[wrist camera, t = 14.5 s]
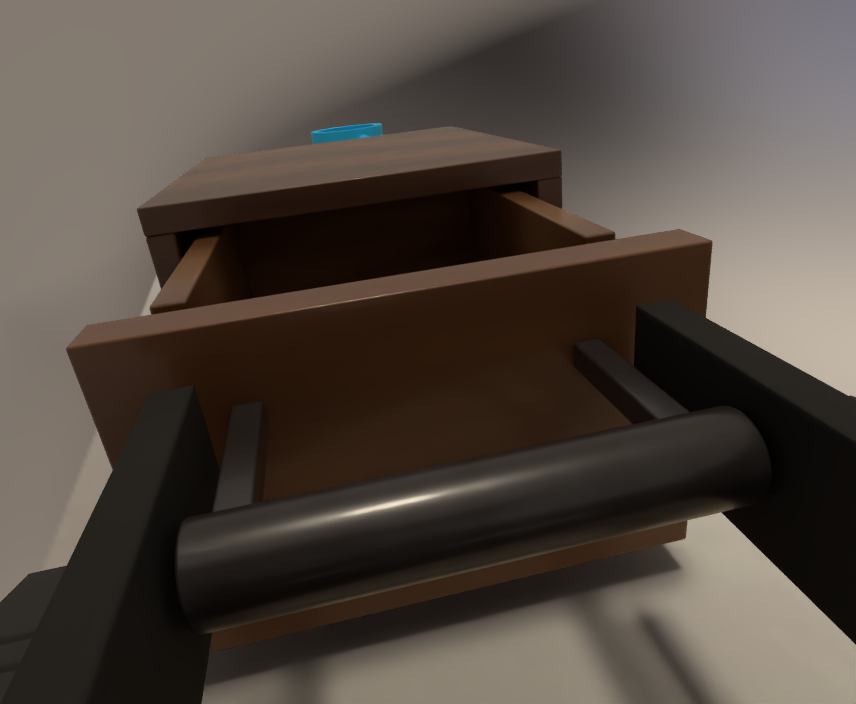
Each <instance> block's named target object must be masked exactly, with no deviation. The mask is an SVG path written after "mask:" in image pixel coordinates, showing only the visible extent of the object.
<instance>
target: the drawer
mask: <svg viewBox="0 0 856 704" xmlns="http://www.w3.org/2000/svg"><path fill="white" fill-rule="evenodd" d="M711 253H712V241H711V240H709V239H706V238H703V237H701V236H698V235H695V234H692V233H689V232H686V231H683V230H680V229H677V230H671V231H665V232H659V233H652V234H647V235H640V236H635V237H628V238H623V239H615V232H613V231H611V230H609V229H606V228H604V227H602V226H600V225H597V224H595V223H593V222H591V221H588V220H586V219H583V218H581V217H579V216H577V215H574V214H572V213H570V212H567V211H565V210H563V209H561V208H558V207H556V206H554V205H552V204H549V203H547V202H545V201H542V200H540V199H538V198H536V197H533V196H531V195H529V194H526V193H524V192H522V191H519V190H517V189H515V188H513V187H510V186H508V185H501V186H495V187H488V188H481V189H474V190H467V191H460V192H453V193H446V194H439V195H432V196H426V197H419V198H412V199H405V200H398V201H391V202H384V203H377V204H370V205H363V206H356V207H350V208H343V209H336V210H329V211H322V212H315V213H308V214H301V215H294V216H287V217H281V218H274V219H267V220H260V221H253V222H246V223H239V224H232V225H225V226H218V227H212V228H205V229H202V230H201V232H200V233H199V235H198V236H197V238H196V239H195V241H194V242H193V244H192V245H191V246H190V248H189V249H188V251H187V252H186V254H185V255H184V257H183V258H182V260H181V261H180V263H179V264H178V266H177V267H176V269H175V270H174V272H173V273H172V275H171V276H170V278H169V279H168V280H167V282H166V283H165V285H164V286H163V288H162V289H161V291H160V292H159V294H158V295H157V297H156V298H155V300H154V301H153V303H152V304H151V306H150V312H151V315H147V316H141V317H135V318H129V319H123V320H117V321H110V322H105V323H98V324H92V325H87V326H85V328H84V329H83V330H82V331H81V332H80V333H79V334H78V335H77V336H76V338H75V339H74V340H73V341H72V342H71V343H70V344H69V345H68V347H67V348H66V350H67V353H68V356H69V358H70V361H71V363H72V366H73V369H74V371H75V374H76V376H77V379H78V382H79V384H80V387H81V389H82V392H83V394H84V397H85V400H86V402H87V405H88V407H89V409H90V412H91V415H92V417H93V420H94V423H95V425H96V428H97V430H98V433H99V436H100V438H101V441H102V443H103V446H104V448H105V451H106V454H107V456H108V459H109V461H110V464H111V466H112V469H114V467H115V465H116V463H117V461H118V459H119V456H120V454H121V452H122V450H123V448H124V446H125V444H126V442H127V440H128V438H129V436H130V434H131V432H132V429H133V427H134V425H135V423H136V421H137V419H138V417H139V415H140V413H141V411H142V409H143V407H144V405H145V402H146V400H147V398H148V396H149V394H150V393H154V392H159V391H165V390H170V389H176V388H181V387H187V386H192V385H194V386H195V389H196V392H197V396H198V399H199V402H200V406H201V409H202V412H203V416H204V419H205V422H206V426H207V429H208V432H209V436H210V439H211V442H212V446H213V449H214V452H215V456H216V459H217V462H218V466H219V469H220V473H219V478H218V483H217V488H216V493H215V498H214V503H213V508H212V512H210V513H205V514H200V515H195V516H191V517H187V518H186V519H184V520H183V521H182V523H181V524H180V527H179V530H178V533H177V538H176V545H175V579H176V587H177V594H178V599H179V603H180V607H181V611H182V614H183V617H184V619H185V621H186V624H187V626H188V627H189V629H190V630H191V631H192V632H193V633H194V634H197V635H203V634H207V633H211V632H212V637H211V644H210V650H209V653H212V652H216V651H220V650H224V649H228V648H233V647H237V646H241V645H245V644H249V643H253V642H257V641H262V640H266V639H270V638H274V637H278V636H282V635H287V634H291V633H295V632H299V631H303V630H307V629H312V628H316V627H320V626H324V625H328V624H332V623H337V622H341V621H345V620H349V619H353V618H357V617H361V616H366V615H370V614H374V613H378V612H382V611H386V610H391V609H395V608H399V607H403V606H407V605H411V604H416V603H420V602H424V601H428V600H432V599H436V598H441V597H445V596H449V595H453V594H457V593H461V592H465V591H470V590H474V589H478V588H482V587H486V586H490V585H495V584H499V583H503V582H507V581H511V580H515V579H520V578H524V577H528V576H532V575H536V574H540V573H545V572H549V571H553V570H557V569H561V568H565V567H569V566H574V565H578V564H582V563H586V562H590V561H594V560H599V559H603V558H607V557H611V556H615V555H619V554H624V553H628V552H632V551H636V550H640V549H644V548H649V547H653V546H657V545H661V544H665V543H669V542H673V541H678V540H682V539H685V538H686V530H687V520H691V519H695V518H699V517H703V516H707V515H712V514H716V513H720V512H724V511H729V510H733V509H737V508H741V507H746V506H750V505H754V504H757V503H759V502H760V501H762V500H763V499H764V498H765V497H766V495H767V494H768V492H769V489H770V486H771V480H772V468H771V461H770V456H769V453H768V449H767V447H766V444H765V442H764V440H763V438H762V436H761V434H760V432H759V430H758V429H757V427H756V426H755V425H754V423H753V422H752V421H751V420H750V419H749V418H748V417H747V416H746V415H745V414H744V413H742V412H741V411H739V410H738V409H736V408H733V407H730V406H717V407H713V408H708V409H703V410H698V411H693V412H689V411H688V410H687V409H686V408H684V407H683V406H682V405H681V404H679V403H678V402H677V401H676V400H674V399H673V398H672V397H671V396H670V395H668V394H667V393H666V392H665V391H663V390H662V389H661V388H660V387H658V386H657V385H656V384H655V383H653V382H652V381H651V380H650V379H649V378H647V377H646V376H645V375H644V374H642V373H641V372H640V371H639V370H637V369H636V368H635V367H634V347H635V321H636V305H642V304H647V303H653V302H659V301H664V300H670V299H672V300H674V301H676V302H677V303H679V304H681V305H683V306H685V307H687V308H688V309H690V310H692V311H694V312H696V313H698V314H699V315H701V316H703V317H705V318H706V309H707V298H708V287H709V275H710V264H711Z"/></svg>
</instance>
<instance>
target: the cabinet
mask: <svg viewBox="0 0 856 704" xmlns="http://www.w3.org/2000/svg"><path fill="white" fill-rule="evenodd" d="M561 175H562V162H561V150H558V149H553V148H549V147H545V146H539V145H535V144H531V143H526V142H521V141H516V140H512V139H508V138H503V137H498V136H494V135H489V134H484V133H480V132H475V131H471V130H466V129H461V128H456V127H452V126H450V127H442V128H434V129H427V130H420V131H411V132H403V133H397V134H388V135H380V136H372V137H365V138H357V139H349V140H341V141H334V142H326V143H318V144H310V145H303V146H295V147H288V148H279V149H272V150H264V151H256V152H248V153H241V154H233V155H225V156H218V157H210V158H205V159H204V160H203V161H201V162H200V163H198V164H197V165H196V166H194V167H193V168H192V169H190V170H189V171H188V172H186V173H185V174H183V175H182V176H181V177H180V178H178V179H177V180H175V181H174V182H173V183H171V184H170V185H169V186H167V187H166V188H165V189H163V190H162V191H160V192H159V193H158V194H156V195H155V196H154V197H152V198H151V199H150V200H148V201H147V202H146V203H144V204H143V205H141V206H140V207H139V208H137V212H138V216H139V219H140V222H141V225H142V228H143V232H144V235H145V236H146V237H147V238H146V241H147V244H148V247H149V250H150V254H151V257H152V260H153V264H154V267H155V270H156V274H157V277H158V280H159V284H160V287H161V289H162V288H163V286H164V285H165V283H166V282H167V280H168V279H169V278H170V276H171V275H172V273H173V272H174V270H175V269H176V267H177V266H178V264H179V263H180V261H181V260H182V258H183V257H184V255H185V254H186V252H187V251H188V249H189V248H190V246H191V245H192V244H193V242H194V241H195V239H196V238H197V236H198V235H199V233H200V232H201V230H202V229H205V228H212V227H218V226H225V225H232V224H239V223H246V222H253V221H260V220H267V219H274V218H281V217H287V216H294V215H301V214H308V213H315V212H322V211H329V210H336V209H343V208H350V207H356V206H363V205H370V204H377V203H384V202H391V201H398V200H405V199H412V198H419V197H426V196H432V195H439V194H446V193H453V192H460V191H467V190H474V189H481V188H488V187H495V186H501V185H508V186H510V187H513V188H515V189H517V190H519V191H522V192H524V193H526V194H529V195H531V196H533V197H536V198H538V199H540V200H542V201H545V202H547V203H549V204H552V205H554V206H556V207H558V208H561V209H562V178H561Z"/></svg>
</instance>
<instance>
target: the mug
mask: <svg viewBox="0 0 856 704" xmlns="http://www.w3.org/2000/svg"><path fill="white" fill-rule="evenodd" d="M380 135H383V131H382V124H379V123H376V124H361V125H351V126H343V127H335V128H329V129H323V130H318V131H314V132H311V137H312V142H313V144H318V143H326V142H334V141H341V140H349V139H357V138H365V137H372V136H380Z"/></svg>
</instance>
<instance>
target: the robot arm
mask: <svg viewBox="0 0 856 704" xmlns="http://www.w3.org/2000/svg"><path fill="white" fill-rule="evenodd" d="M634 367H635V368H636V369H637V370H639V371H640V372H641V373H642V374H644V375H645V376H646V377H647V378H649V379H650V380H651V381H652V382H653V383H655V384H656V385H657V386H658V387H660V388H661V389H662V390H663V391H665V392H666V393H667V394H668V395H670V396H671V397H672V398H673V399H674V400H676V401H677V402H678V403H679V404H681V405H682V406H683V407H684V408H686V409H687V410H688V411H689V412H693V411H698V410H703V409H708V408H713V407H717V406H730V407H733V408H736V409H738V410H739V411H741V412H742V413H744V414H745V415H746V416H747V417H748V418H749V419H750V420H751V421H752V422H753V423H754V425H755V426H756V427H757V429H758V430H759V432H760V434H761V436H762V438H763V440H764V442H765V444H766V447H767V449H768V453H769V456H770V461H771V468H772V480H771V486H770V489H769V492H768V494H767V495H766V497H765V498H764V499H763V500H762V501H760V502H759V503H757V504H754V505H750V506H746V507H741V508H737V509H733V510H729V511H724V512H722V513H723V514H724V515H725V516H726V517H727V518H728V519H729V520H730V521H731V522H732V523H733V524H734V525H735V526H736V527H737V528H738V529H739V530H740V531H741V532H742V533H743V534H744V535H745V536H746V537H747V538H748V539H749V540H750V541H751V542H752V543H753V544H754V545H755V546H756V547H757V548H758V549H759V550H760V551H761V552H762V553H763V554H764V555H765V556H766V557H767V558H768V559H769V560H770V561H771V562H772V563H773V564H774V565H775V566H776V567H777V568H778V569H780V570H781V571H782V572H783V573H784V574H785V575H786V576H787V577H788V578H789V579H790V580H791V581H792V582H793V583H794V584H795V585H796V586H797V587H798V588H799V589H800V590H801V591H802V592H803V593H804V594H805V595H806V596H807V597H808V598H809V599H810V600H811V601H812V602H813V603H814V604H815V605H816V606H817V607H818V608H819V609H820V610H821V611H822V612H823V613H824V614H825V615H826V616H827V617H828V618H829V619H830V620H831V621H832V622H833V623H834V624H835V625H836V626H838V627H839V628H840V629H841V630H842V631H843V632H844V633H845V634H846V635H847V636H848V637H849V638H850V639H851V640H852V641H853V642H854V643H855V644H856V397H853V396H847V395H845V394H844V393H842V392H840V391H838V390H836V389H834V388H833V387H831V386H829V385H827V384H825V383H824V382H822V381H820V380H818V379H816V378H814V377H813V376H811V375H809V374H807V373H805V372H803V371H802V370H800V369H798V368H796V367H794V366H792V365H791V364H789V363H787V362H785V361H783V360H781V359H780V358H778V357H776V356H774V355H772V354H771V353H769V352H767V351H765V350H763V349H761V348H760V347H758V346H756V345H754V344H752V343H751V342H748V341H747V340H745V339H743V338H741V337H740V336H738V335H736V334H734V333H732V332H730V331H729V330H727V329H725V328H723V327H721V326H719V325H718V324H716V323H714V322H712V321H710V320H709V319H707V318H705V317H703V316H701V315H699V314H698V313H696V312H694V311H692V310H690V309H688V308H687V307H685V306H683V305H681V304H679V303H677V302H676V301H674V300H672V299H670V300H664V301H659V302H653V303H647V304H642V305H636V321H635V347H634ZM219 473H220V469H219V466H218V462H217V459H216V456H215V452H214V449H213V446H212V442H211V439H210V436H209V432H208V429H207V426H206V422H205V419H204V416H203V412H202V409H201V406H200V402H199V399H198V396H197V392H196V389H195V386H194V385H192V386H187V387H181V388H176V389H170V390H165V391H159V392H154V393H150V394H149V396H148V398H147V400H146V402H145V405H144V407H143V409H142V411H141V413H140V415H139V417H138V419H137V421H136V423H135V425H134V427H133V429H132V432H131V434H130V436H129V438H128V440H127V442H126V444H125V446H124V448H123V450H122V452H121V454H120V456H119V459H118V461H117V463H116V465H115V467H114V469H113V471H112V473H111V475H110V477H109V479H108V481H107V483H106V486H105V488H104V490H103V492H102V494H101V496H100V498H99V500H98V502H97V504H96V506H95V508H94V510H93V512H92V515H91V517H90V519H89V521H88V523H87V525H86V527H85V529H84V531H83V533H82V535H81V537H80V539H79V542H78V544H77V546H76V548H75V550H74V552H73V554H72V556H71V558H70V560H69V562H68V564H67V566H63V567H59V568H54V569H49V570H45V571H40V572H35V573H31V574H28V575H27V577H25V578H24V579H23V580H22V581H21V582H20V583H19V584H18V585H17V586H16V587H15V588H14V590H12V591H11V592H10V593H9V594H8V595H7V596H6V597H5V598H4V599H3V600H2V601H1V602H0V704H201V703H202V696H203V690H204V683H205V677H206V670H207V664H208V657H209V650H210V644H211V637H212V632H211V633H207V634H203V635H197V634H194V633H193V632H192V631H191V630H190V629H189V627H188V626H187V624H186V621H185V619H184V617H183V614H182V611H181V607H180V603H179V599H178V594H177V587H176V579H175V545H176V538H177V533H178V530H179V527H180V524H181V523H182V521H183V520H184V519H186V518H187V517H191V516H195V515H200V514H205V513H210V512H212V508H213V503H214V498H215V493H216V488H217V483H218V478H219Z"/></svg>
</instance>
